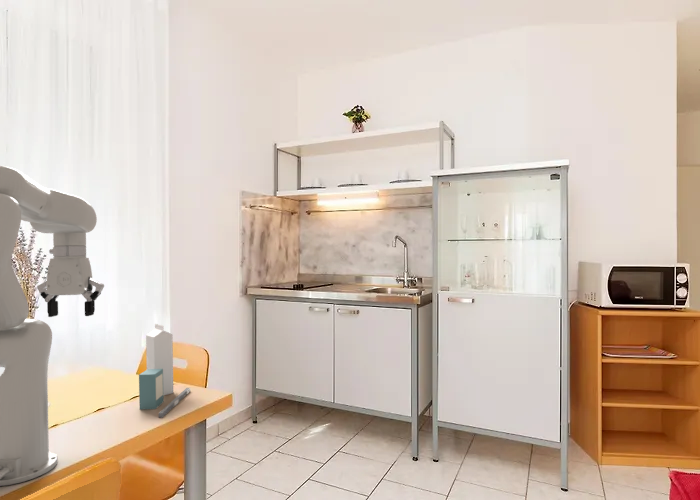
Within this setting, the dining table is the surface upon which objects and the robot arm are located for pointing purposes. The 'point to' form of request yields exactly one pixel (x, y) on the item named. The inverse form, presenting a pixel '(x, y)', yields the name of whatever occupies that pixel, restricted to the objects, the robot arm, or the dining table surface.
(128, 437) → the dining table surface
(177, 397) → the rail
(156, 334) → the milk
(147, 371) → the tea tin
